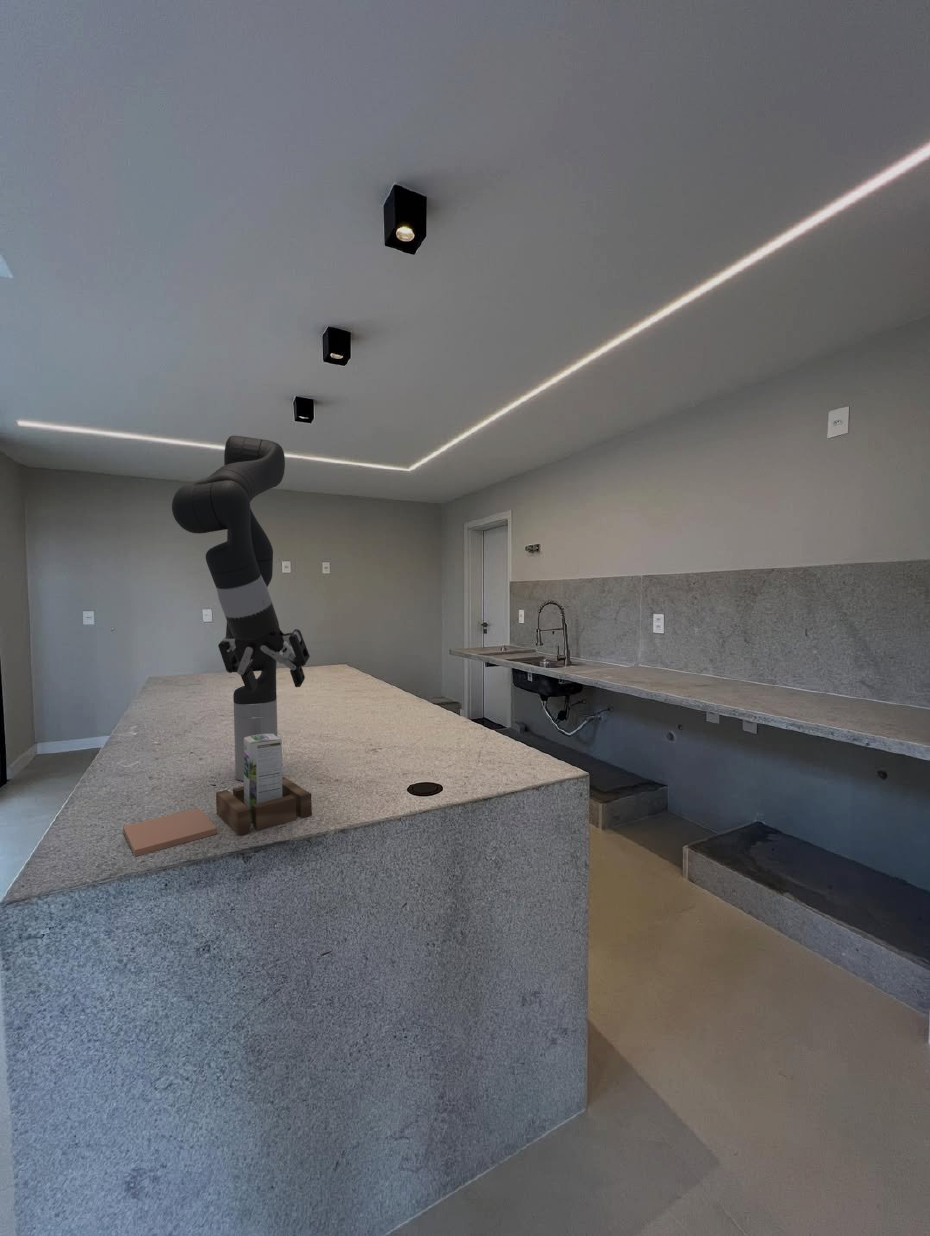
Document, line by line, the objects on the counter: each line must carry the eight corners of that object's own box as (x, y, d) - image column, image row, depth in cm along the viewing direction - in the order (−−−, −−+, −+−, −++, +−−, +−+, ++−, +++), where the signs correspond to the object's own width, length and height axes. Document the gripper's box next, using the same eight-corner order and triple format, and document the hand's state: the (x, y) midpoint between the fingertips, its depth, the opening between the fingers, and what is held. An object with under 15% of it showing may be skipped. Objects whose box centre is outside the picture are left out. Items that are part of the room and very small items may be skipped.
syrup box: (243, 813, 97) (241, 736, 97) (275, 805, 101) (273, 731, 101) (251, 823, 93) (249, 743, 92) (284, 815, 96) (282, 737, 96)
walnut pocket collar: (216, 813, 98) (216, 792, 97) (284, 796, 106) (284, 776, 106) (238, 836, 88) (238, 812, 88) (311, 814, 96) (311, 793, 96)
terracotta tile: (123, 831, 90) (122, 826, 90) (198, 813, 98) (198, 807, 98) (134, 856, 81) (134, 850, 81) (217, 833, 89) (216, 827, 89)
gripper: (296, 591, 88) (321, 671, 95) (217, 600, 89) (247, 678, 96) (280, 611, 81) (308, 696, 88) (195, 620, 82) (229, 702, 90)
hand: (276, 686), depth 92 cm, fingers open, 8 cm apart
